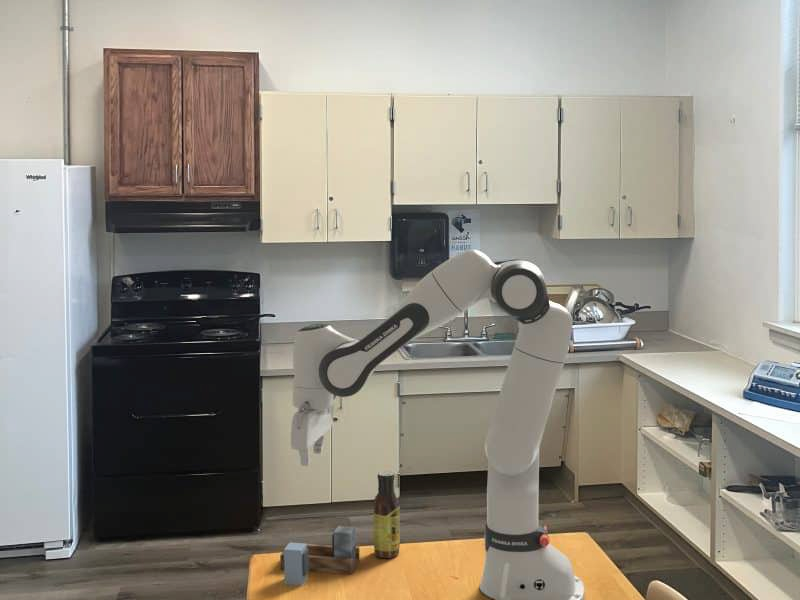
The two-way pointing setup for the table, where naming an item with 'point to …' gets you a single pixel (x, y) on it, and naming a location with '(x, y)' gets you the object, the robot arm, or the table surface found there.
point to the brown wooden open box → (333, 553)
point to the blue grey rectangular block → (296, 563)
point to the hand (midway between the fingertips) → (311, 458)
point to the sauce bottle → (386, 518)
